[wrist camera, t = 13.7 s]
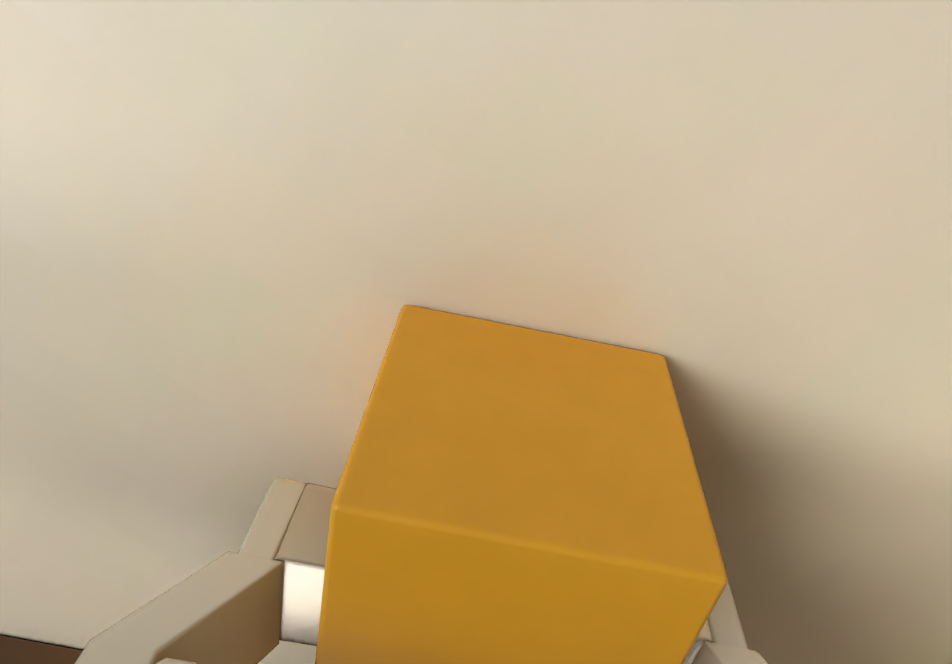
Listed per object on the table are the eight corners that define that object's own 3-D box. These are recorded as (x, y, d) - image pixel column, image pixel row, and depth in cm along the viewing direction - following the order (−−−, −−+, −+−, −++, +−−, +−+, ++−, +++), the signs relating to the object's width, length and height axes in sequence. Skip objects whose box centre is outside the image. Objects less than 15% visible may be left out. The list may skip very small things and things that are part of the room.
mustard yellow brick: (569, 606, 15) (579, 856, 11) (364, 567, 15) (300, 805, 11) (666, 353, 11) (732, 581, 7) (402, 301, 11) (329, 505, 7)
